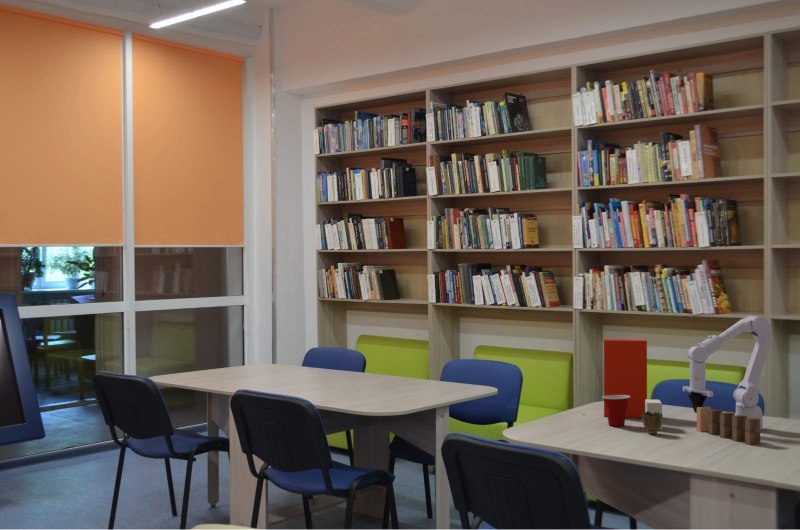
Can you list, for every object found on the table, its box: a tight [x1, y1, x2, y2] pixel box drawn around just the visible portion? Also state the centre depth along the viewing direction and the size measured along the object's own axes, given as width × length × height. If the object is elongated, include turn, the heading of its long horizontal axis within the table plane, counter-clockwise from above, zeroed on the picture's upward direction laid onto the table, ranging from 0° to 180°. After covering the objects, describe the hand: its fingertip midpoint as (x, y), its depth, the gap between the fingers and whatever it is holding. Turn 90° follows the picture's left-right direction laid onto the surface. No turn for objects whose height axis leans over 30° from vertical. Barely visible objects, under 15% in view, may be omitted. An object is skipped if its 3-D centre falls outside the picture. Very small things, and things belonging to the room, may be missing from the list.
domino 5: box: [744, 418, 761, 446], centre depth 288 cm, size 5×2×9 cm, turn 112°
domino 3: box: [719, 411, 736, 439], centre depth 299 cm, size 5×2×9 cm, turn 112°
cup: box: [641, 411, 663, 436], centre depth 304 cm, size 8×7×8 cm
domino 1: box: [696, 406, 712, 433], centre depth 310 cm, size 5×2×9 cm, turn 111°
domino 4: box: [731, 414, 747, 443], centre depth 293 cm, size 5×2×9 cm, turn 112°
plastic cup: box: [601, 395, 630, 428], centre depth 320 cm, size 11×11×12 cm
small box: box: [645, 398, 663, 431], centre depth 316 cm, size 8×6×10 cm
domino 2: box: [707, 408, 724, 436], centre depth 304 cm, size 5×2×9 cm, turn 112°
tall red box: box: [603, 338, 648, 419], centre depth 340 cm, size 8×17×32 cm, turn 76°
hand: (697, 412), depth 313 cm, fingers closed
